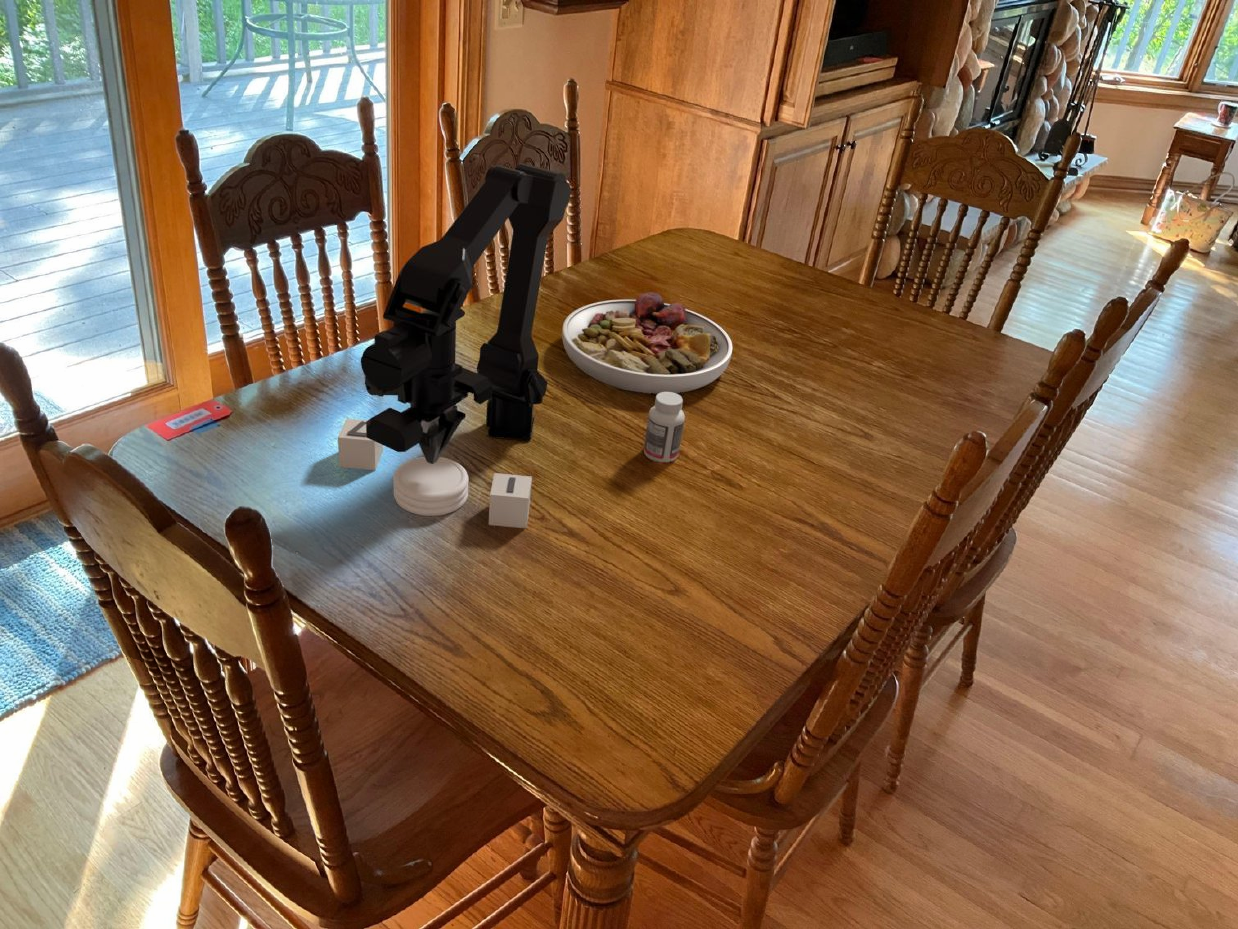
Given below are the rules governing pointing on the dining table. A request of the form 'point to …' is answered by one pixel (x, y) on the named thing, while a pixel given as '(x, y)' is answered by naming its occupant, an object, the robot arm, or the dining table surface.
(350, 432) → the block seven
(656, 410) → the pill bottle
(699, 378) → the bowl
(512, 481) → the block one
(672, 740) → the dining table surface
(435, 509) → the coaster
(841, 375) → the dining table surface
